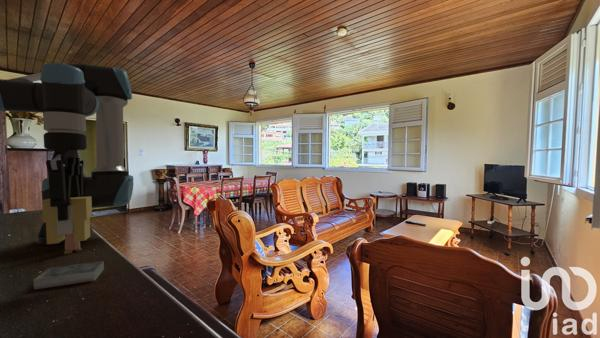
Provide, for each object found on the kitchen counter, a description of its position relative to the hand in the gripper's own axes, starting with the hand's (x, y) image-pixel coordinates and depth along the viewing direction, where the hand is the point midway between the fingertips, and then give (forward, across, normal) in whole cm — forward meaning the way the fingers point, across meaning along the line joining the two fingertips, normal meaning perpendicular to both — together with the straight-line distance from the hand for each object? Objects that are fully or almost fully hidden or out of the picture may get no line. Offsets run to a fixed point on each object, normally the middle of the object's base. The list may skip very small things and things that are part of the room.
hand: (69, 231), depth 63 cm
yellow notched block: (+2, 0, 0) cm, 2 cm away
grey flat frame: (+11, 0, 0) cm, 12 cm away
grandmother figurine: (+11, -24, -8) cm, 28 cm away
